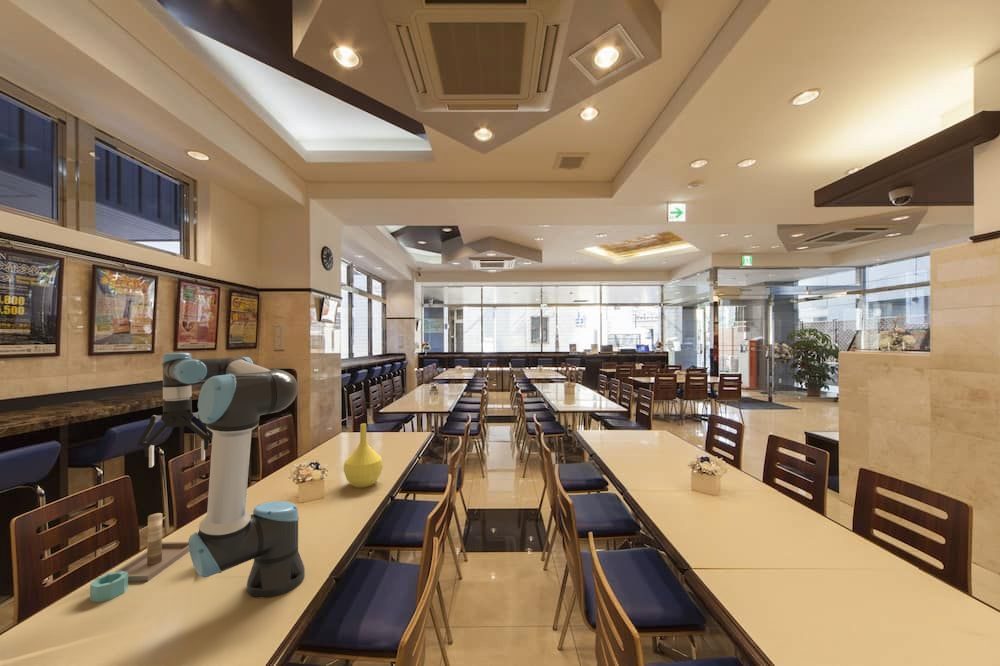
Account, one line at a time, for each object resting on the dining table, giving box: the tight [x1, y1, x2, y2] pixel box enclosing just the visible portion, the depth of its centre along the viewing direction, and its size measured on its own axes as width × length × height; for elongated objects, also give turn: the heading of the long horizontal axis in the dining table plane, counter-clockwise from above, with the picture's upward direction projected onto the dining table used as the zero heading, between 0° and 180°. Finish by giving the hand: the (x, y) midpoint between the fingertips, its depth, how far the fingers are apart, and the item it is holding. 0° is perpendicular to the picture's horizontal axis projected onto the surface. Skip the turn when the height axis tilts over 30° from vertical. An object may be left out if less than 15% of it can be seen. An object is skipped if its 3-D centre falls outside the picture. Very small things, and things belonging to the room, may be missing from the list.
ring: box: [89, 571, 129, 603], centre depth 115 cm, size 7×7×5 cm
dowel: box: [146, 512, 163, 565], centre depth 130 cm, size 4×4×15 cm
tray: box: [114, 541, 190, 583], centre depth 130 cm, size 20×12×2 cm, turn 1°
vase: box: [343, 423, 384, 488], centre depth 201 cm, size 18×18×30 cm
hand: (178, 462), depth 135 cm, fingers open, 13 cm apart
